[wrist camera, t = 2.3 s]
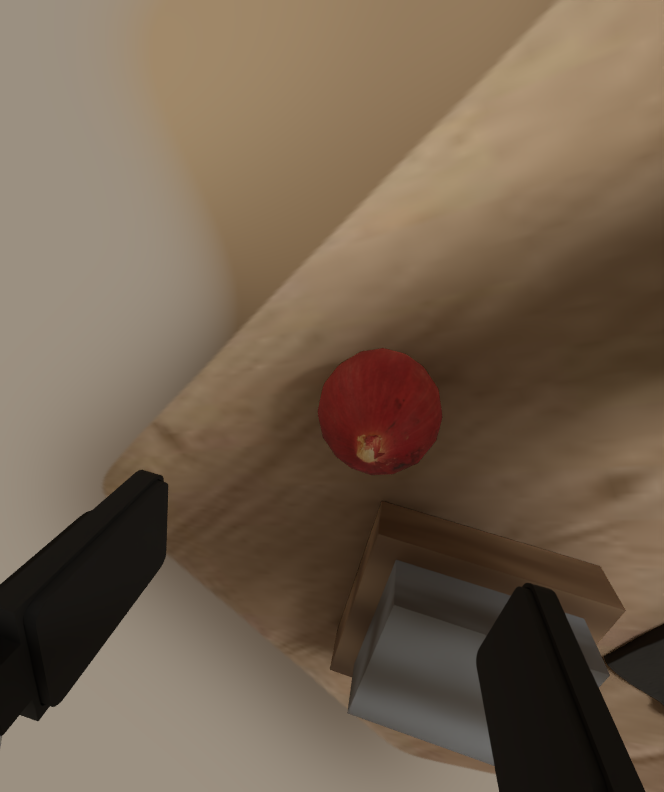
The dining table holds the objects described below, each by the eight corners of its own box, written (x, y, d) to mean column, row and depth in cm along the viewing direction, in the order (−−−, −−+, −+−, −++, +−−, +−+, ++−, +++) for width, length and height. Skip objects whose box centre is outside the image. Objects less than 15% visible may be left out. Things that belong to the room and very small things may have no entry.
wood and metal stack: (381, 500, 24) (373, 576, 19) (600, 566, 23) (659, 668, 17) (337, 630, 30) (321, 716, 25) (508, 688, 29) (531, 793, 23)
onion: (455, 401, 21) (480, 490, 13) (368, 443, 23) (348, 539, 15) (402, 313, 19) (397, 358, 12) (315, 366, 21) (266, 431, 14)
